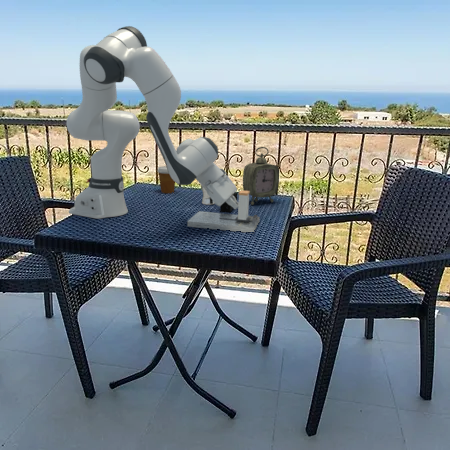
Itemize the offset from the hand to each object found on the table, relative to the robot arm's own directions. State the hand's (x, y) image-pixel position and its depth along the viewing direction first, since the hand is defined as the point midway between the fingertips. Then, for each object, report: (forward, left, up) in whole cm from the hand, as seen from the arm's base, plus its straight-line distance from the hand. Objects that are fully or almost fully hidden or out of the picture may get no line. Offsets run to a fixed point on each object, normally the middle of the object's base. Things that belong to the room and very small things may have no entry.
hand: (237, 207), depth 140 cm
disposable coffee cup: (-44, +42, -7) cm, 61 cm away
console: (-5, 0, -7) cm, 8 cm away
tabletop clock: (+2, +37, -7) cm, 38 cm away
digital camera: (-8, +21, -7) cm, 24 cm away
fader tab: (+2, 0, -5) cm, 5 cm away
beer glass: (-19, +28, -7) cm, 35 cm away
